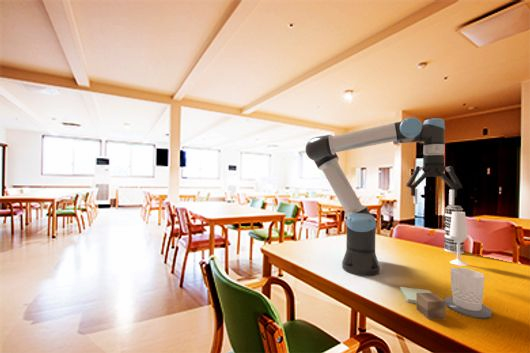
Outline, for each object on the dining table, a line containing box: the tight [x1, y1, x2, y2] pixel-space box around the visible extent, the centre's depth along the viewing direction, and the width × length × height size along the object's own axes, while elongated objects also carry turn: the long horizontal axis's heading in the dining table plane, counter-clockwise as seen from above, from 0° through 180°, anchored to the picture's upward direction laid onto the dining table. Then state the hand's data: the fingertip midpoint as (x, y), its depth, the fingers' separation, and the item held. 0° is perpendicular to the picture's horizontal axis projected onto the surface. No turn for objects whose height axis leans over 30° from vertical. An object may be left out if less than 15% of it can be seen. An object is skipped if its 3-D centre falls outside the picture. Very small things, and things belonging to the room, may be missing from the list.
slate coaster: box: [444, 296, 493, 319], centre depth 73 cm, size 11×11×1 cm
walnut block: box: [415, 292, 447, 320], centre depth 70 cm, size 5×5×5 cm
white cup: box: [450, 267, 485, 311], centre depth 73 cm, size 8×8×10 cm
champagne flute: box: [449, 211, 469, 267], centre depth 112 cm, size 7×7×24 cm
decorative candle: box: [442, 204, 465, 255], centre depth 132 cm, size 9×9×25 cm
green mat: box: [399, 286, 432, 304], centre depth 79 cm, size 9×9×1 cm
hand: (433, 204), depth 104 cm, fingers open, 13 cm apart
